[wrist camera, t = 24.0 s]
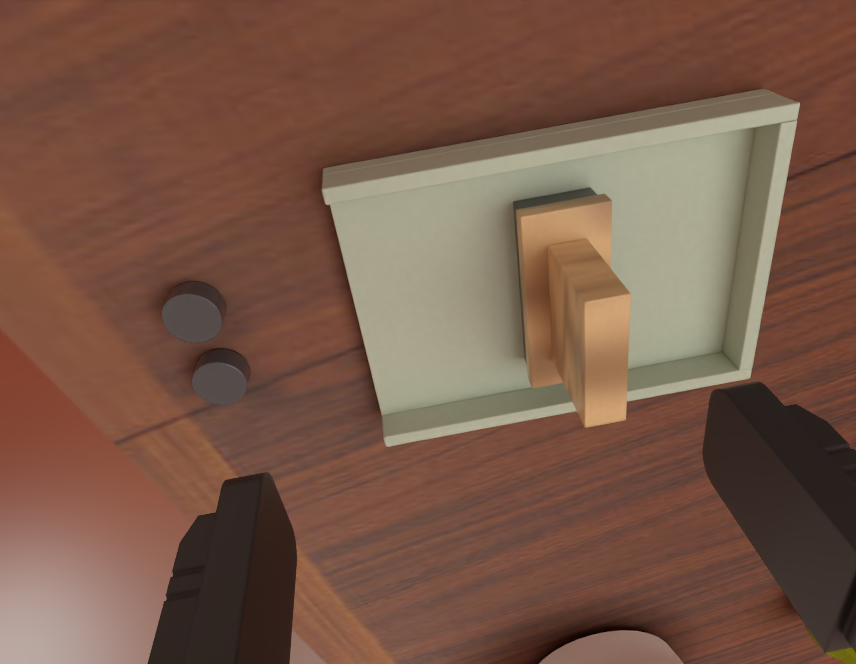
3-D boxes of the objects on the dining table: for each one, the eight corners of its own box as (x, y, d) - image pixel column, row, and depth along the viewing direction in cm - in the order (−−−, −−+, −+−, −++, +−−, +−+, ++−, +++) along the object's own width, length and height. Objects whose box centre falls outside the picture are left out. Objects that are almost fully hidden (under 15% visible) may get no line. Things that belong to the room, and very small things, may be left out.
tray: (322, 168, 30) (320, 189, 28) (763, 88, 31) (801, 102, 28) (383, 414, 39) (385, 447, 37) (724, 350, 39) (750, 379, 37)
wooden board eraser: (593, 349, 37) (649, 442, 30) (521, 363, 37) (560, 459, 30) (594, 182, 31) (663, 251, 24) (508, 197, 31) (553, 271, 24)
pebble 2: (188, 353, 35) (183, 368, 34) (241, 344, 35) (237, 358, 34) (206, 394, 37) (202, 409, 36) (256, 385, 37) (254, 400, 36)
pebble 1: (158, 287, 33) (151, 300, 31) (214, 276, 33) (209, 288, 31) (180, 333, 34) (174, 348, 33) (233, 323, 34) (229, 337, 33)
